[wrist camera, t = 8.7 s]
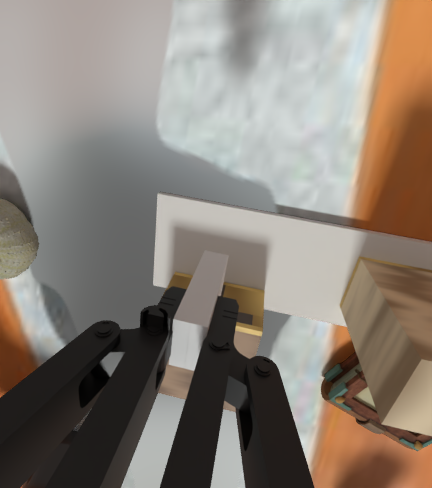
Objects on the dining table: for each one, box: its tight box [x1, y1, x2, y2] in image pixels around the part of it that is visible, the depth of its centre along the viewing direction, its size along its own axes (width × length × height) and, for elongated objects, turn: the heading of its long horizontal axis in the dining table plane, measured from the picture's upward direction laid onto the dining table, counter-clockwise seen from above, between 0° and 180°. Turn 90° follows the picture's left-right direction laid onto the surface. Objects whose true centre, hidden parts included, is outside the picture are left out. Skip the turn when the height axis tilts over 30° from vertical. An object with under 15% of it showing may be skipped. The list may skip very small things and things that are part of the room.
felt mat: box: [153, 192, 432, 327], centre depth 30 cm, size 33×11×1 cm, turn 82°
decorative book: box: [321, 352, 432, 451], centre depth 33 cm, size 13×18×5 cm
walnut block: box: [158, 272, 265, 412], centre depth 33 cm, size 10×6×13 cm
